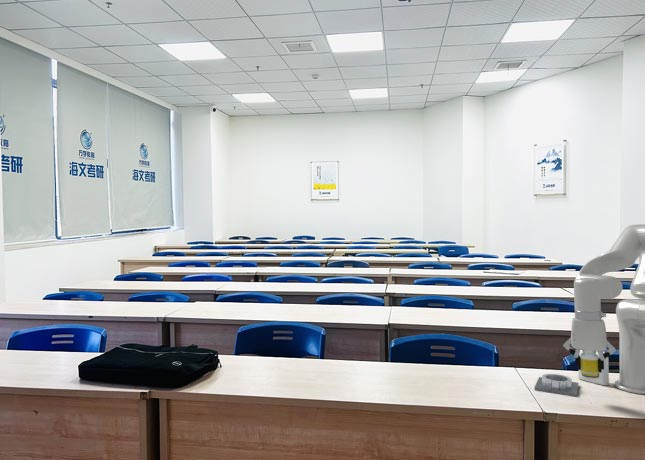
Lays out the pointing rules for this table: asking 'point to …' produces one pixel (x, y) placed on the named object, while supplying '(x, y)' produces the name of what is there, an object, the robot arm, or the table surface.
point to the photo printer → (602, 376)
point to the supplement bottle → (589, 365)
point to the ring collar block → (557, 384)
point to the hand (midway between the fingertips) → (589, 369)
